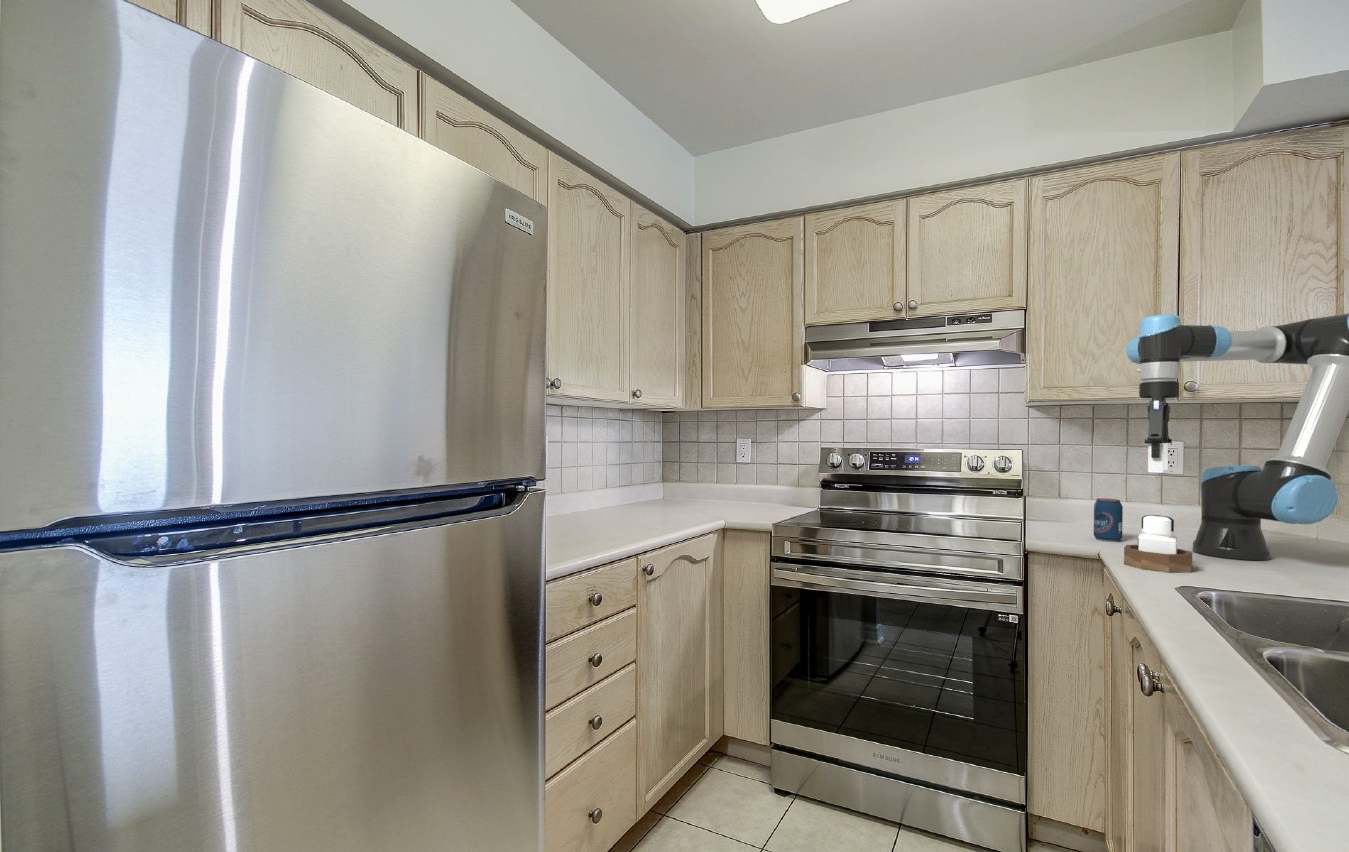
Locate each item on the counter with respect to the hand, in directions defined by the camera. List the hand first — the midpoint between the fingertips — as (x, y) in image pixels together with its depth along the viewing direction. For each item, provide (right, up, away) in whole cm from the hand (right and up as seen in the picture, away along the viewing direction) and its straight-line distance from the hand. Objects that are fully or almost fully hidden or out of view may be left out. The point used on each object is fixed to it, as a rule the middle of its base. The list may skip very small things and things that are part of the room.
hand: (1158, 471), depth 148 cm
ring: (0, -23, 0) cm, 23 cm away
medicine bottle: (0, -23, 0) cm, 23 cm away
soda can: (+13, -23, +36) cm, 44 cm away
